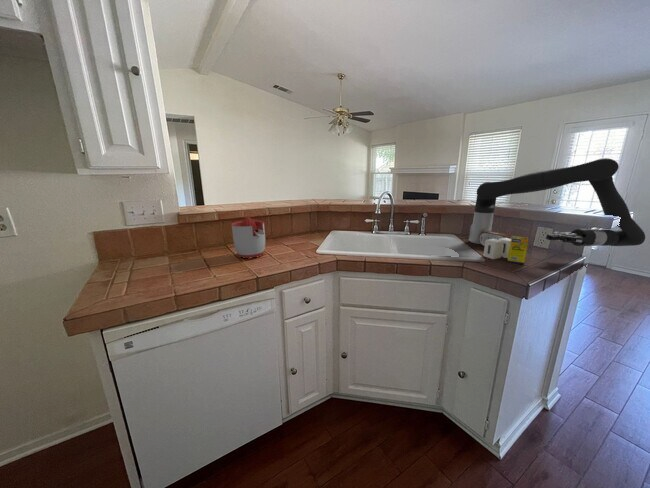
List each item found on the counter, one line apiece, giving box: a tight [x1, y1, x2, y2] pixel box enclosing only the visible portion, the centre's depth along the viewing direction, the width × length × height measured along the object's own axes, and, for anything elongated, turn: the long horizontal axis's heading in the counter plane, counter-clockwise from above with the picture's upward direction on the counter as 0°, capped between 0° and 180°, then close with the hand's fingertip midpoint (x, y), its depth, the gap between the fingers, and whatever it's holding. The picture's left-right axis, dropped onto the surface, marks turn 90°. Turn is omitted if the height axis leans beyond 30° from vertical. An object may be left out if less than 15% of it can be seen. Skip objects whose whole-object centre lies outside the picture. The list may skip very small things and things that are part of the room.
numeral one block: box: [482, 239, 504, 260], centre depth 119 cm, size 5×5×8 cm
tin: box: [478, 230, 511, 247], centre depth 133 cm, size 15×3×8 cm, turn 32°
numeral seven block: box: [498, 238, 511, 259], centre depth 120 cm, size 5×5×8 cm
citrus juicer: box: [230, 215, 266, 258], centre depth 125 cm, size 16×17×20 cm
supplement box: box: [506, 235, 529, 265], centre depth 112 cm, size 6×6×11 cm
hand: (547, 237), depth 111 cm, fingers closed
